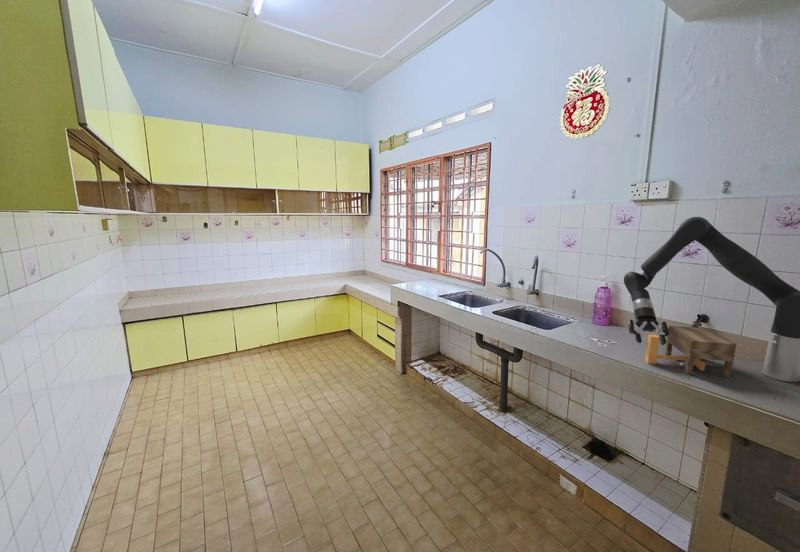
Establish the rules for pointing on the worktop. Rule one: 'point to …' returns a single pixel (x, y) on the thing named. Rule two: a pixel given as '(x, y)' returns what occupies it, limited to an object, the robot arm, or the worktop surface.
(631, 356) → the worktop surface
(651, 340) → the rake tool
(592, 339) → the scissors
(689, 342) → the wooden footstool
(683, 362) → the steel token
